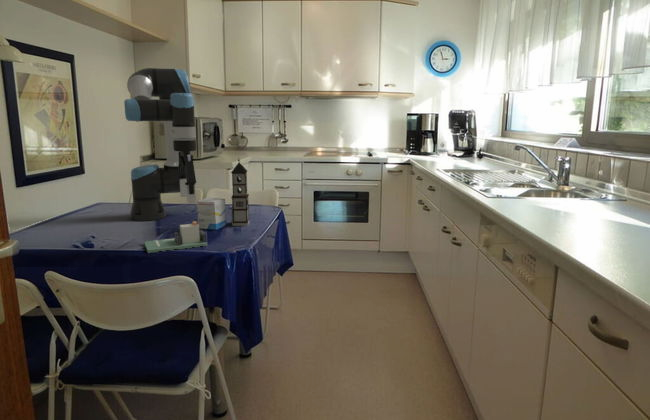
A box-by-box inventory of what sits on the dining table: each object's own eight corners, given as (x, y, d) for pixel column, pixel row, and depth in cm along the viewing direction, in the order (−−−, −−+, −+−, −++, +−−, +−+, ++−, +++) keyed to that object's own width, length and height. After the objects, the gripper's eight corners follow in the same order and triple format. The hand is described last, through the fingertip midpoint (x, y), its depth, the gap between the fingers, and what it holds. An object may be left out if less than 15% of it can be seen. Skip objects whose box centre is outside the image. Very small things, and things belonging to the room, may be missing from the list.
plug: (180, 241, 165) (179, 222, 164) (197, 239, 168) (196, 220, 166) (182, 243, 162) (181, 224, 160) (199, 241, 164) (198, 223, 163)
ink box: (227, 225, 193) (225, 198, 190) (216, 230, 185) (214, 201, 182) (209, 223, 196) (208, 196, 193) (197, 228, 188) (196, 200, 185)
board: (144, 244, 165) (143, 233, 164) (200, 237, 174) (200, 227, 173) (147, 253, 154) (147, 241, 153) (207, 245, 163) (207, 235, 162)
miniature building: (248, 225, 192) (246, 154, 186) (231, 226, 192) (228, 154, 185) (249, 221, 199) (247, 152, 193) (233, 222, 199) (230, 152, 192)
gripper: (167, 137, 167) (171, 194, 171) (179, 141, 145) (183, 207, 149) (188, 137, 170) (192, 193, 175) (203, 141, 148) (206, 205, 153)
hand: (188, 200), depth 162 cm, fingers open, 13 cm apart
